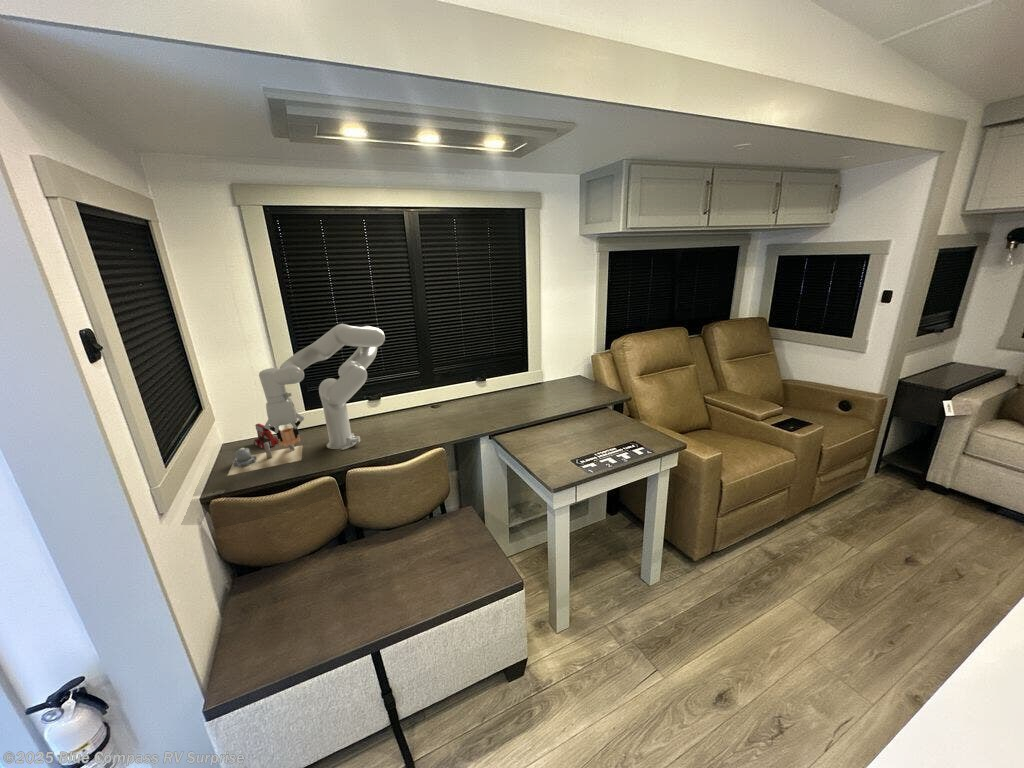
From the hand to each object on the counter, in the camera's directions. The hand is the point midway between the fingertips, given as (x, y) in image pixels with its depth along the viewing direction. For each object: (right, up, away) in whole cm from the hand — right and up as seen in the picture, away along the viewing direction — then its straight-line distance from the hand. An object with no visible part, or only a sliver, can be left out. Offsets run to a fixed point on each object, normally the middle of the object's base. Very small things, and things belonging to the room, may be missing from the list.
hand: (289, 437), depth 162 cm
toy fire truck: (-19, -6, +16) cm, 26 cm away
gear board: (-10, -10, +1) cm, 14 cm away
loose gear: (0, -2, +1) cm, 2 cm away
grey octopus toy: (-17, -10, -1) cm, 20 cm away
